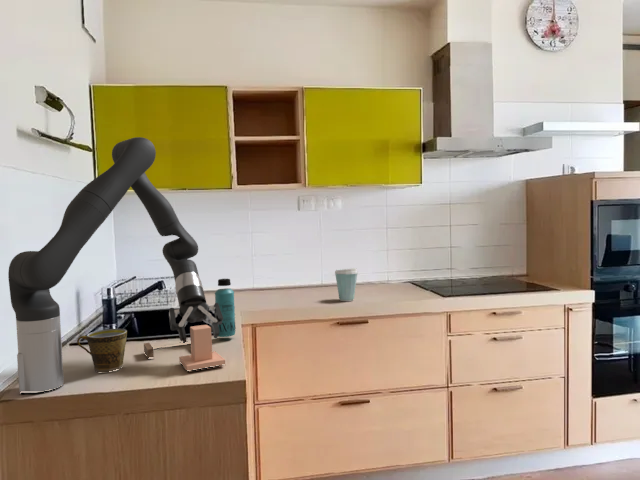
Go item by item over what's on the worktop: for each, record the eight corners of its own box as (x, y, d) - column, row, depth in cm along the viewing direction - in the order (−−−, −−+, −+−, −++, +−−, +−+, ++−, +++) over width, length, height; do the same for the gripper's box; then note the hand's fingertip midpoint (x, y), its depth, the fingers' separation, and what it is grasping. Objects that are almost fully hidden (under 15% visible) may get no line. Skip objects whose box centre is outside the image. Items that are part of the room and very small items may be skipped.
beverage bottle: (212, 339, 163) (209, 279, 162) (229, 335, 168) (226, 276, 167) (223, 342, 159) (220, 280, 158) (240, 338, 163) (237, 278, 162)
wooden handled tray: (147, 359, 142) (147, 349, 142) (144, 353, 149) (143, 343, 149) (204, 351, 149) (204, 341, 149) (198, 345, 156) (197, 336, 156)
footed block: (187, 371, 128) (185, 333, 127) (179, 362, 137) (177, 326, 136) (225, 365, 132) (223, 328, 132) (215, 356, 141) (213, 321, 141)
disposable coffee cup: (331, 301, 229) (330, 268, 228) (343, 297, 238) (342, 266, 237) (350, 303, 223) (349, 269, 222) (362, 299, 231) (361, 267, 231)
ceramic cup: (133, 363, 139) (132, 327, 138) (120, 374, 129) (118, 336, 128) (87, 365, 139) (85, 329, 138) (70, 376, 129) (68, 338, 128)
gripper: (165, 285, 139) (175, 334, 129) (216, 281, 145) (228, 327, 135) (163, 301, 144) (172, 350, 134) (212, 296, 150) (224, 342, 140)
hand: (200, 338), depth 135 cm, fingers open, 8 cm apart
